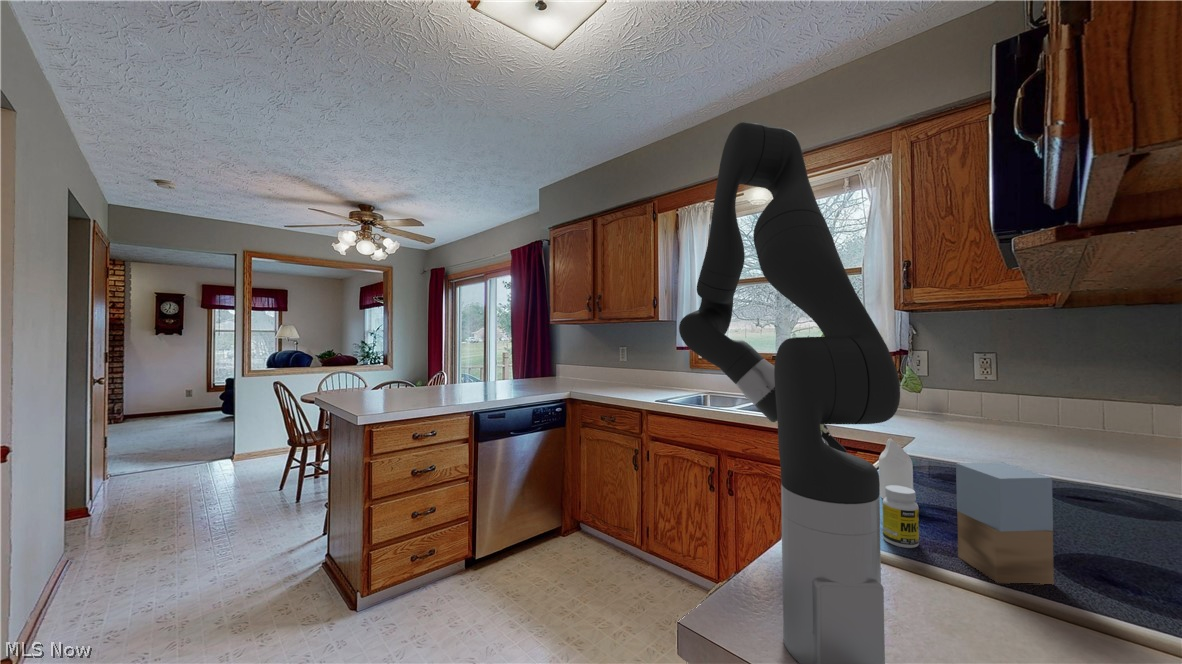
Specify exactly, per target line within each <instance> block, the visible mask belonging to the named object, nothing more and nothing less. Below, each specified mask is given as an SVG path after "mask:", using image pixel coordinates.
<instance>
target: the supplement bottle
mask: <svg viewBox="0 0 1182 664" xmlns="http://www.w3.org/2000/svg"><path fill="white" fill-rule="evenodd" d="M916 494H917V493H916V491H915V490H914V488H913V489H911V488H907V487H903V486H896V485H889V486H886V487H885V496H886V498H884V499H883V498H882V499H883V500H882V538H883V540H885V542H887V543H889V544H891V545H894V546H896V547H900V548H905V549H914V548H917V547H918V546H919V544H920V531H919V530H920V527H919V526H920V525H919V523H920V522H919V521H920V519H919V514H920V510H919V509H920V508H919V505H918V503H917V502H916V501H917V496H916Z"/></svg>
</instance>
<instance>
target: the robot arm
mask: <svg viewBox="0 0 1182 664" xmlns="http://www.w3.org/2000/svg"><path fill="white" fill-rule="evenodd" d="M740 185H744V186H751V187H756V188H761V189H766V190H768V191H769V192H770V194H771V195H772V199H771V200H770V202H768V203H767V205H766V207H765V208H764V209H763V211H762V212H761V213H760V215H759V217H758V218H757V220H756V223H755V226H754V228H753V238H752V239H753V245H754V248H755V252H756V256H757V260H758V263H759V267H760V270H761V272H762V274H763V277H764V278H765V279H766V281H767V282H768V283H769V284H770V285H771V286H772V287H773V288H774V289H775V291H777V292H778V293H780V295H782V296H783V297H785V298H786V299H787V300H789V301H790V302H791V303H792V304H794V305H795V306H796V307H798V308H799V310H802V312H804V313H805V314H806V315H808V317H809V318H811V320H813V322H814V323H815V325H817V328H819V330H820V331H821V333H822V335H823V336H800V337H799V336H798V337H789V338H787V339H784V341H782V342H781V344H780V345H779V347H778V349H777V351H776V353H775V354H776V355H775V360H774V364H772V363H771V362H769V361H768V360H767V359H765V358H764V356H762V355H761V354H760V353H759V352H758V351H757V350H756V349H755V348H754V347H753V346H752V345H750V343H748V342H746V341H745V340H743V339H732V338H730V337H729V336H728V335H726V334H727V332H728V330H729V327H730V325H731V323H732V322H731V321H732V316H733V308H734V295H735V293H736V291H737V288H738V284H739V281H740V279H741V274H742V272H743V269H744V264H745V260H746V259H745V258H746V257H745V256H746V255H745V254H746V253H745V247H744V246H745V245H744V241H743V238H742V234H741V231H740V226H739V223H738V218H737V213H736V212H737V211H736V202H737V195H738V190H739V186H740ZM817 201H818V200H817V199H816V196H815V194H814V190H813V188H812V185H811V183H810V179H809V176H808V171H807V167H806V162H805V159H804V154H803V150H802V146H801V143H800V141H799V139H798V137H797V136H796V134H795V133H794V132H792V131H791V130H789V129H786V128H784V127H777V126H772V125H767V124H766V125H765V124H760V123H755V122H748V121H747V122H746V121H742V122H739V123H736V125H735V126H734V127H733V128H732V129H731V131H730V132H729V134H728V136H727V138H726V140H725V143H724V146H723V150H722V153H721V159H720V162H719V168H718V175H717V181H716V188H715V195H714V199H713V207H712V214H711V220H710V221H711V223H710V229H709V236H708V239H707V240H708V241H707V246H706V251H705V254H704V259H703V262H702V266H701V269H700V272H699V276H698V279H697V284H696V293H697V295H698V296H699V298H701V300H700V305H699V307H698V309H697V310H695V311H693V312H690V313H688V314H686V315H685V316H683V317H682V318H681V320H680V322H679V326H678V331H679V337H680V338H681V340H682V341H683V343H684V344H685V346H686V347H688V349H690V351H692V352H694V353H695V354H696V355H698V356H699V357H700V358H703V359H704V360H706V361H707V362H708V363H710V364H711V365H712V366H715V367H717V368H719V370H721V371H722V372H723V373H724V374H725V375H726V376H727V377H728V378H729V379H730V380H731V381H732V382H733V384H735V386H737V388H738V389H739V390H740V392H741V393H742V394H743V395H744V397H746V398H747V399H748V400H749V402H751V403H752V405H754V407H756V408H757V409H758V410H759V411H760V412H761V414H763V415H764V417H766V419H768V420H769V422H770V423H776V422H777V438H778V439H777V441H778V442H777V443H778V456H779V464H780V465H779V466H780V484H781V485H780V493H781V495H780V496H781V497H780V499H781V511H780V512H781V562H782V563H781V566H782V574H781V575H782V579H781V580H782V621H783V623H782V624H783V626H782V627H783V628H782V629H783V633H782V634H783V642H784V646H785V648H786V650H787V652H788V653H789V654H790V655H791V656H792V657H793V659H794V660H795V661H797V662H798V663H799V664H886V649H885V647H886V645H885V643H886V641H885V639H886V637H885V596H884V595H885V594H884V593H885V591H884V585H882V566H881V565H882V563H881V560H882V559H881V558H882V557H881V555H882V554H881V506H880V505H881V496H880V481H879V470H878V469H877V468H876V466H875V465H874V464H873V463H871V462H870V461H868V460H866V459H865V458H862V457H860V456H857V455H854V454H851V453H848V452H847V449H846V448H845V447H844V446H843V445H842V444H841V443H840V441H838V440H837V439H836V438H835V437H834V436H833V435H832V434H831V432H830V430H829V428H828V426H827V425H873V424H882V423H884V422H887V421H889V420H890V419H892V418H893V417H894V416H895V414H896V413H897V411H898V408H899V406H900V401H901V384H900V379H899V378H900V377H899V375H898V370H897V368H896V365H895V364H896V363H895V361H894V359H893V357H892V355H891V354H892V353H891V352H890V350H889V348H888V346H887V343H886V341H885V340H884V338H883V337H882V334H881V332H880V331H879V329H878V328H877V326H876V325H875V323H874V321H873V320H872V318H871V315H870V314H869V312H868V311H867V309H866V307H865V306H864V304H863V303H862V301H861V299H860V297H859V296H858V294H857V293H856V290H855V288H854V286H853V285H852V282H851V280H850V278H849V276H848V273H847V272H846V269H845V267H844V265H843V262H842V259H841V257H840V255H839V252H838V250H837V249H838V248H837V247H836V243H835V240H834V238H833V234H832V233H831V231H830V228H829V225H828V224H827V221H826V219H825V216H824V215H823V213H822V211H821V210H820V206H819V204H818V202H817Z"/></svg>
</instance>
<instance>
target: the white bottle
mask: <svg viewBox="0 0 1182 664" xmlns="http://www.w3.org/2000/svg"><path fill="white" fill-rule="evenodd" d="M878 473H879V481H880V498H881V499H884V498H886V496H885V487H886V486H889V485H896V486H903V487H907V488H911V489H913V490H914V470H913V461H912V459H911V457H910V456H909V454H908V453H907V451H905V450H904V448H903V447H902V446H901V445H900V444H898V442H896V441H895V440H893V439H892V438H888V439H887V441H886V445H885V448H884V450H882V452H881V453H880V455H879V457H878Z"/></svg>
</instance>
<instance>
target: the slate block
mask: <svg viewBox="0 0 1182 664" xmlns="http://www.w3.org/2000/svg"><path fill="white" fill-rule="evenodd" d="M955 471H956V472H955V475H956V477H955V479H956V481H955V482H956V511H959V512H961V513H963V514H965V515H967V516H969V517H971V518H973V519H975V520H978V521H980V522H982V523H984V524H986V525H988V526H990V527H992V528H994V529H996V530H998V531H1000V532H1004V531H1053V532H1054V529H1053V528H1054V520H1053V519H1054V516H1053V515H1054V514H1053V513H1054V511H1053V477H1052V476H1048V475H1045V474H1042V473H1038V472H1035V471H1032V470H1029V469H1025V468H1022V467H1018V466H1017V465H1016V466H1015V465H1013V464H1010V463H1006V462H1002V461H1001V462H999V461H998V462H959V463H958V462H957V463H955Z"/></svg>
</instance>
